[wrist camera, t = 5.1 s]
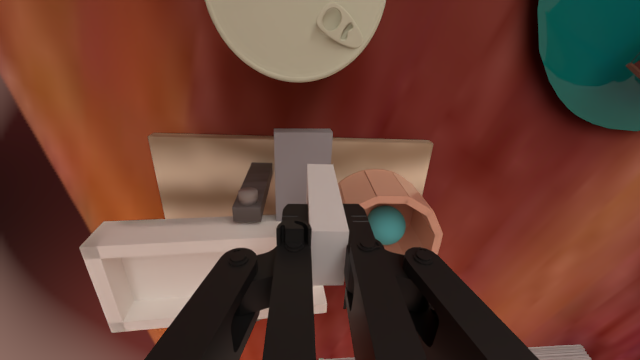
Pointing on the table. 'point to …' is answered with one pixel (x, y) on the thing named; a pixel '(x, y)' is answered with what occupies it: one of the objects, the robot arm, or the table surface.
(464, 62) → the table surface
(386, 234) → the ball
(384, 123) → the table surface
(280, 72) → the can
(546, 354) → the book
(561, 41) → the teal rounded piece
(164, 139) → the stand
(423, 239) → the cup
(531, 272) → the table surface
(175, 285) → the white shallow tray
